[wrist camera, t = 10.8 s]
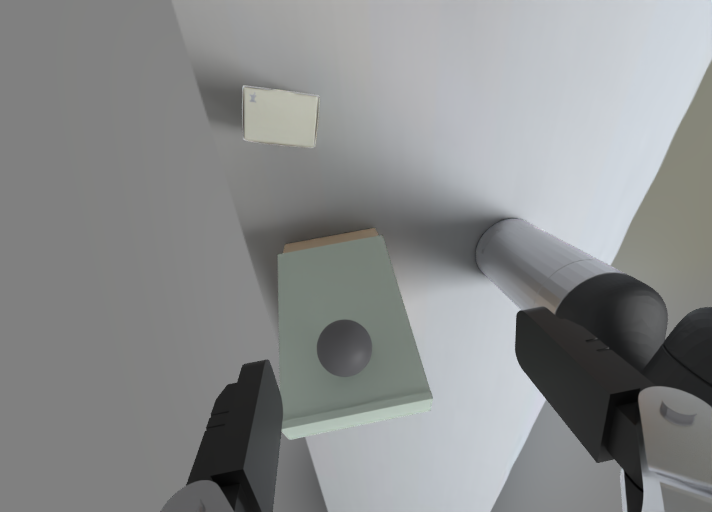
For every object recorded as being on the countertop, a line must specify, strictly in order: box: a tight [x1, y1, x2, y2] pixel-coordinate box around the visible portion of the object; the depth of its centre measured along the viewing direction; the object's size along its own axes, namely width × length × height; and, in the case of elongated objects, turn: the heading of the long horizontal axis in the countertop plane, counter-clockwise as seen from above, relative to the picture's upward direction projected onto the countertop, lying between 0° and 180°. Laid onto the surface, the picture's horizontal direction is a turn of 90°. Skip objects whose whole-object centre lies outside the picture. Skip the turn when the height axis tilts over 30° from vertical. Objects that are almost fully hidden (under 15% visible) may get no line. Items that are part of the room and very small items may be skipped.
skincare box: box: [242, 85, 320, 148], centre depth 34 cm, size 6×4×12 cm
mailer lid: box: [278, 235, 433, 440], centre depth 33 cm, size 19×12×9 cm
